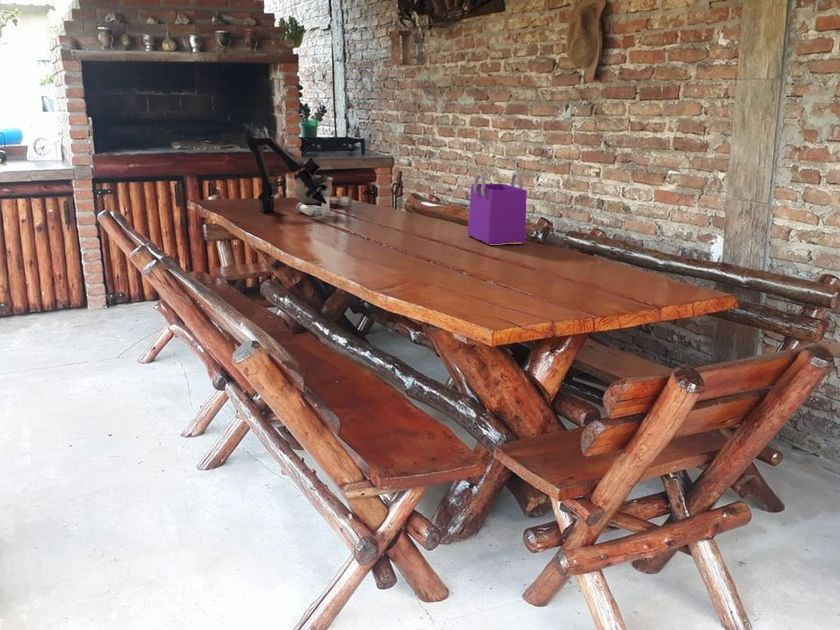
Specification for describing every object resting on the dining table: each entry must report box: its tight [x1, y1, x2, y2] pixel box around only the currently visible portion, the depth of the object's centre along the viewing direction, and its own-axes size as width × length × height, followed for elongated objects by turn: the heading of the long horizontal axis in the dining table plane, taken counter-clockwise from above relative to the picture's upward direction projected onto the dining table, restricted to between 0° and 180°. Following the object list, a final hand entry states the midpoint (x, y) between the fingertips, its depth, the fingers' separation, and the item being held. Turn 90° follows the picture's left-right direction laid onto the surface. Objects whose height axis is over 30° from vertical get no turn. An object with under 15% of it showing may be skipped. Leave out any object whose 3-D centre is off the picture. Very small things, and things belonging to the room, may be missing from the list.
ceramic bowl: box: [293, 174, 334, 205], centre depth 468 cm, size 22×22×15 cm
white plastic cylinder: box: [296, 202, 314, 217], centre depth 428 cm, size 12×5×5 cm
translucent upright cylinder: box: [321, 191, 332, 217], centre depth 424 cm, size 5×5×12 cm
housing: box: [307, 204, 331, 216], centre depth 436 cm, size 16×9×2 cm, turn 40°
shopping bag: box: [467, 171, 527, 244], centre depth 362 cm, size 28×22×30 cm
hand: (328, 203), depth 423 cm, fingers closed on translucent upright cylinder, 4 cm apart
